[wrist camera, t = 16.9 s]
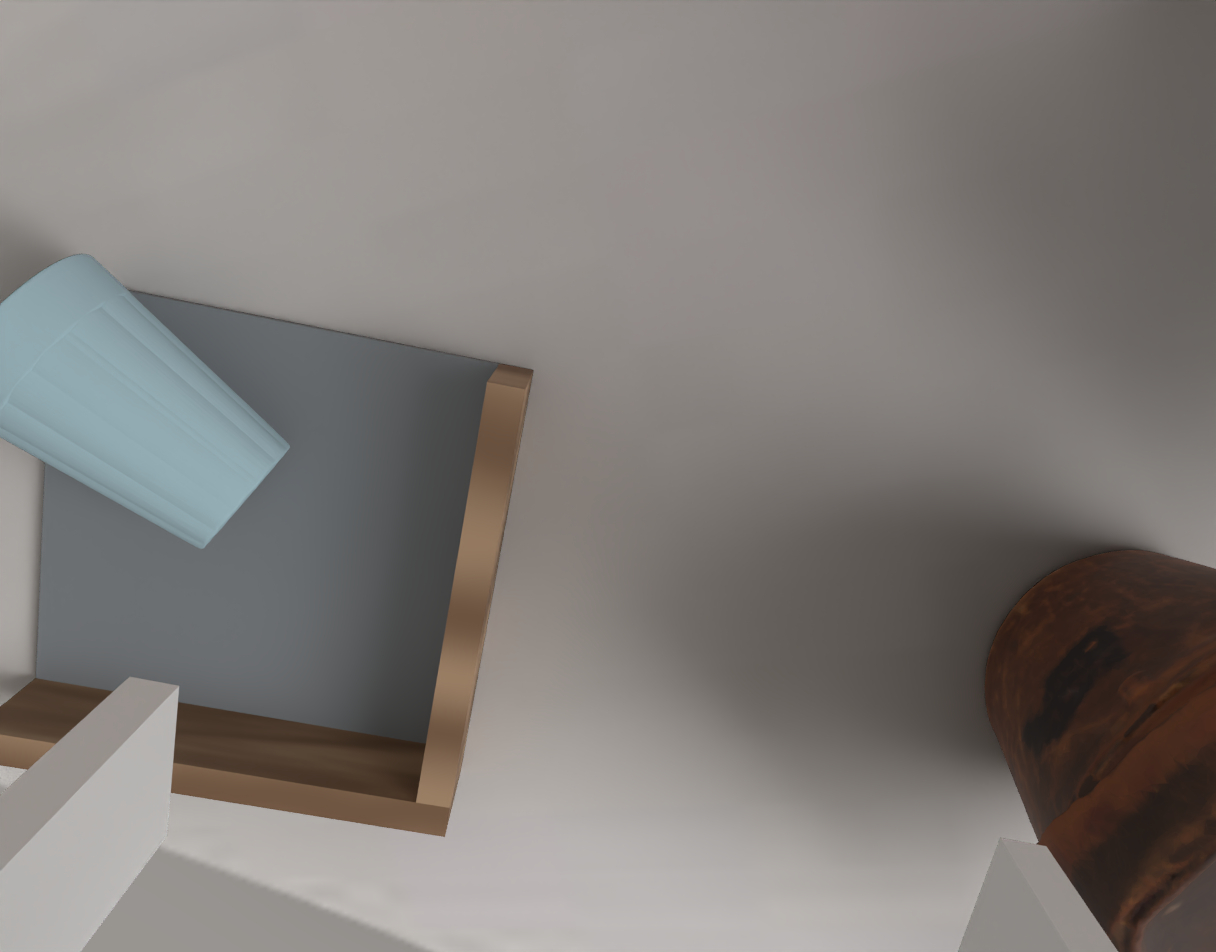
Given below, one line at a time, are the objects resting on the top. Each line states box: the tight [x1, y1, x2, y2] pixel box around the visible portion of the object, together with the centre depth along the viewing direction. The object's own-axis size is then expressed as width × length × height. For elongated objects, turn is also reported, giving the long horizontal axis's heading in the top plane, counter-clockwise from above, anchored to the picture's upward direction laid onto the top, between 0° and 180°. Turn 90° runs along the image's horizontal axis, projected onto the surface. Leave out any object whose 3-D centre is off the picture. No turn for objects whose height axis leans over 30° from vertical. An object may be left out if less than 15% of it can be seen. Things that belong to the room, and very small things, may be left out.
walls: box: [0, 364, 533, 837], centre depth 39 cm, size 20×20×5 cm
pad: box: [36, 290, 500, 744], centre depth 41 cm, size 19×19×1 cm
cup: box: [0, 254, 290, 549], centre depth 36 cm, size 8×8×10 cm
